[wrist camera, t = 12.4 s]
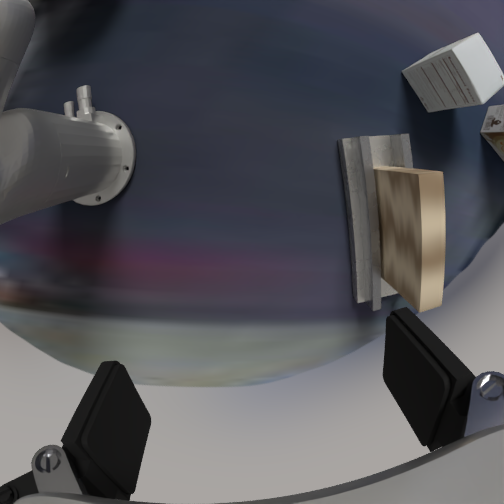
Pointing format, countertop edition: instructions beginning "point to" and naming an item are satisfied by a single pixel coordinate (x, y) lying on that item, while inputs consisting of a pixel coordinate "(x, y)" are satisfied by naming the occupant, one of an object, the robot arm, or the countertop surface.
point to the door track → (368, 207)
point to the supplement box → (456, 75)
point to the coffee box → (494, 128)
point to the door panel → (412, 233)
